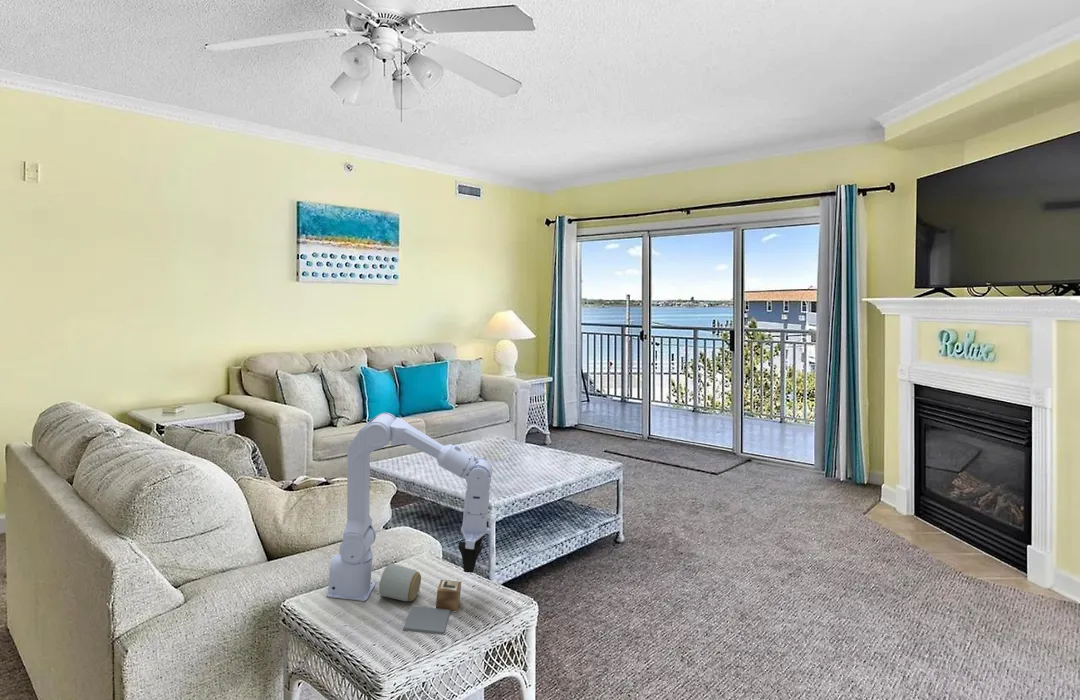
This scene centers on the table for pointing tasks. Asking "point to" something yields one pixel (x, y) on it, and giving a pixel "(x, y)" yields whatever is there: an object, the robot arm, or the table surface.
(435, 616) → the slate mat
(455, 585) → the letter cube
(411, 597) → the ceramic mug
